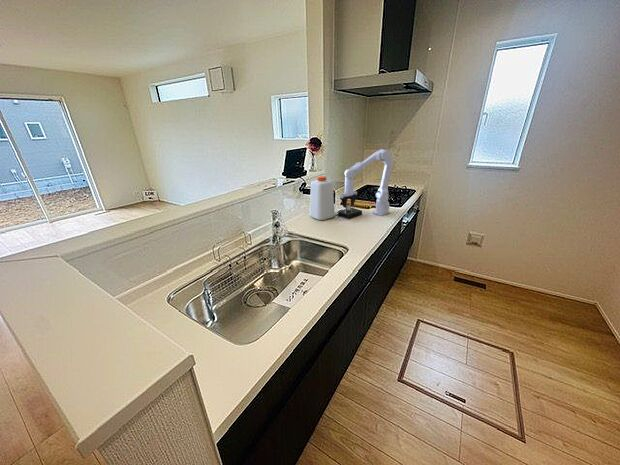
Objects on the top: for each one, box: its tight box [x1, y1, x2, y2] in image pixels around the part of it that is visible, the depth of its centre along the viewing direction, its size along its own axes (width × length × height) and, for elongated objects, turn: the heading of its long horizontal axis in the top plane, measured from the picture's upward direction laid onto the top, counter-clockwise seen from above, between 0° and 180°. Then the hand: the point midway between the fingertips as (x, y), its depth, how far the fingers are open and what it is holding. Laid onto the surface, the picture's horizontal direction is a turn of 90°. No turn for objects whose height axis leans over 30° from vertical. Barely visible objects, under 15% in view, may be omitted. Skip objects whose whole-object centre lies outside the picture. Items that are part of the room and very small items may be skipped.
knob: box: [344, 204, 352, 212], centre depth 178 cm, size 4×4×4 cm
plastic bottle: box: [309, 175, 336, 221], centre depth 173 cm, size 15×15×28 cm
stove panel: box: [337, 207, 363, 220], centre depth 179 cm, size 14×10×3 cm
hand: (348, 206), depth 177 cm, fingers open, 7 cm apart
